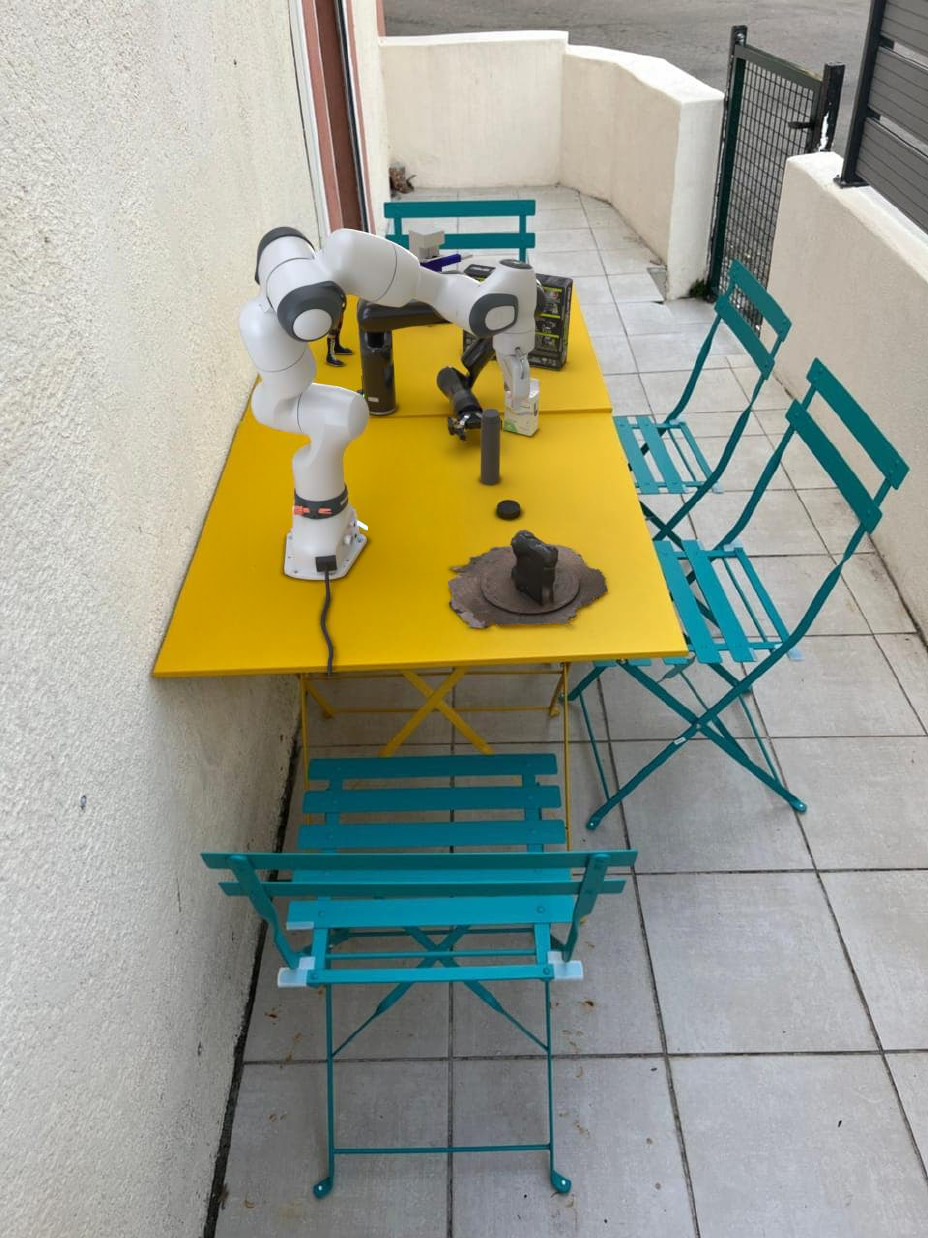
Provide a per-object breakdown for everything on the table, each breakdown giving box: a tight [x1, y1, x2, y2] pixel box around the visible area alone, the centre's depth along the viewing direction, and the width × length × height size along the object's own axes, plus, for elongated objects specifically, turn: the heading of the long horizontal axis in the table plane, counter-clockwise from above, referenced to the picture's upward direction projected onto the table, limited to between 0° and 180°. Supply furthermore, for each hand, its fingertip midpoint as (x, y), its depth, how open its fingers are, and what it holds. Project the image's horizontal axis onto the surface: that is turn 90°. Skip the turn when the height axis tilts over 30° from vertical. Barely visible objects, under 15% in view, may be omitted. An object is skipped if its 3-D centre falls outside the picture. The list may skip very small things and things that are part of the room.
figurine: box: [325, 311, 353, 367], centre depth 275 cm, size 24×6×30 cm, turn 168°
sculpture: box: [447, 529, 609, 629], centre depth 188 cm, size 33×35×16 cm
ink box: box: [503, 377, 541, 437], centre depth 242 cm, size 9×5×15 cm, turn 62°
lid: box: [495, 499, 522, 521], centre depth 215 cm, size 6×6×2 cm
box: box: [462, 263, 574, 371], centre depth 275 cm, size 34×7×27 cm, turn 68°
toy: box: [408, 223, 474, 272], centre depth 298 cm, size 35×10×30 cm, turn 130°
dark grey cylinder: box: [480, 408, 502, 486], centre depth 221 cm, size 5×5×19 cm
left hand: (511, 399), depth 196 cm, fingers open, 8 cm apart
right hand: (480, 436), depth 230 cm, fingers open, 8 cm apart
